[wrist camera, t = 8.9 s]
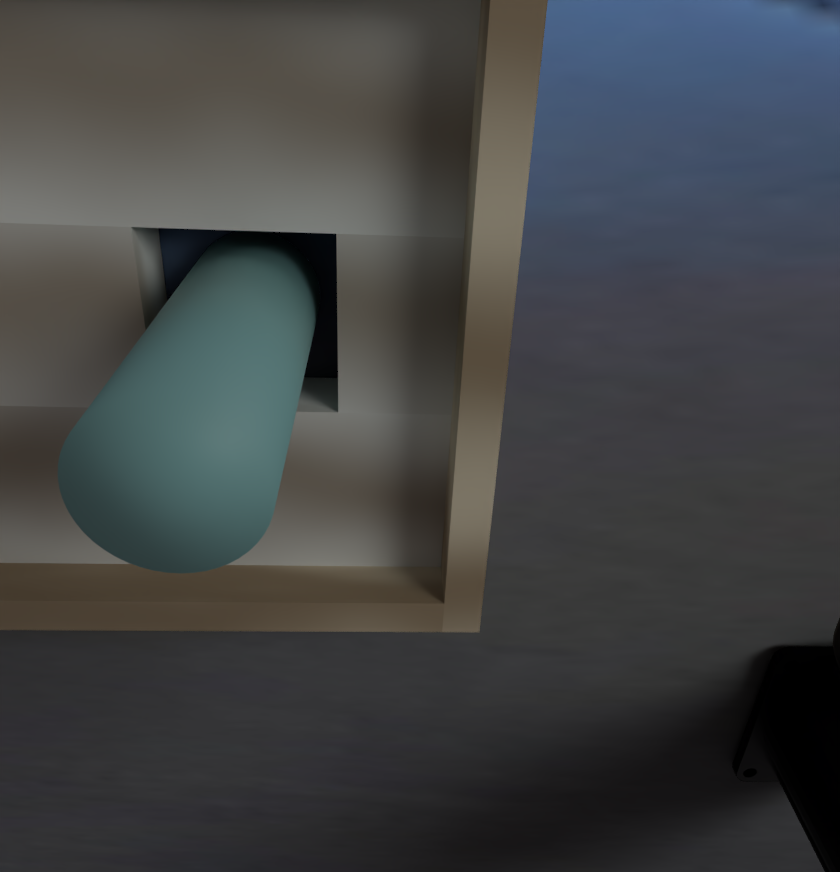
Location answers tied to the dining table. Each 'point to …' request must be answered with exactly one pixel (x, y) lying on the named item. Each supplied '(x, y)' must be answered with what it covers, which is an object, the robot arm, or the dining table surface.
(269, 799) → the dining table surface
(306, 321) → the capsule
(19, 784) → the dining table surface
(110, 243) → the tray
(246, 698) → the dining table surface
